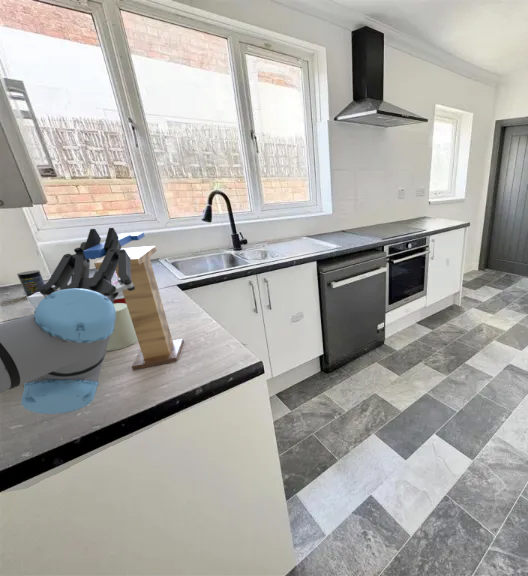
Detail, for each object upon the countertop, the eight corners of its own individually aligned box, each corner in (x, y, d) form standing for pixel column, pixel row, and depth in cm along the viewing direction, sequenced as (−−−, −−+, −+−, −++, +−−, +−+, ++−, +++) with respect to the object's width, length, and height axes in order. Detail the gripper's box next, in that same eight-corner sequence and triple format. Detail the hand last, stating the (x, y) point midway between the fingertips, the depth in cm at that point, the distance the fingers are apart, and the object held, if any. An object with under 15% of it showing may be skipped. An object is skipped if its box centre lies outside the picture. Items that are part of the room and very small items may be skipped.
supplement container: (49, 294, 139) (40, 271, 135) (27, 298, 134) (17, 275, 130) (47, 291, 143) (38, 269, 139) (25, 295, 138) (16, 273, 134)
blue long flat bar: (109, 257, 61) (107, 249, 60) (76, 259, 59) (73, 251, 58) (144, 236, 83) (143, 230, 83) (122, 238, 81) (120, 232, 81)
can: (128, 333, 101) (117, 299, 97) (144, 339, 97) (133, 304, 93) (93, 346, 93) (80, 310, 89) (109, 353, 89) (96, 316, 85)
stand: (174, 369, 81) (142, 258, 71) (127, 378, 78) (88, 263, 68) (184, 340, 96) (159, 245, 86) (145, 347, 92) (115, 248, 82)
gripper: (34, 341, 52) (67, 250, 66) (144, 324, 58) (154, 243, 72) (3, 314, 47) (46, 221, 61) (127, 298, 53) (141, 216, 66)
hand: (104, 233), depth 66 cm, fingers closed on blue long flat bar, 2 cm apart
